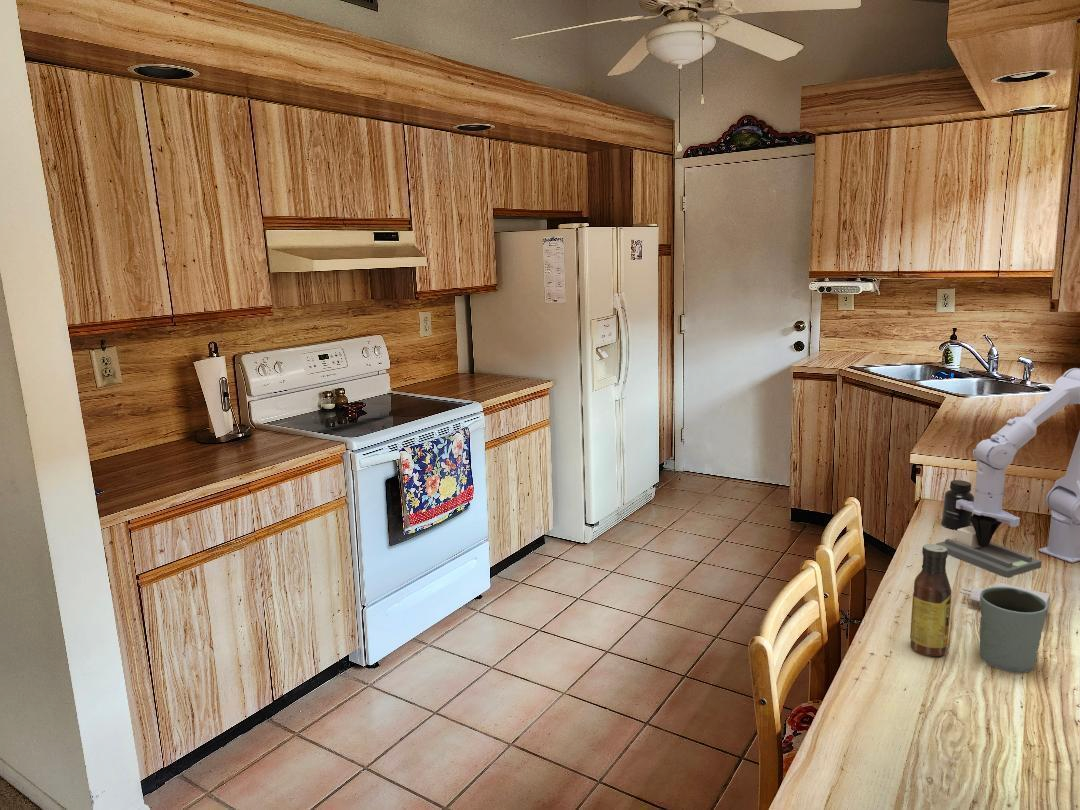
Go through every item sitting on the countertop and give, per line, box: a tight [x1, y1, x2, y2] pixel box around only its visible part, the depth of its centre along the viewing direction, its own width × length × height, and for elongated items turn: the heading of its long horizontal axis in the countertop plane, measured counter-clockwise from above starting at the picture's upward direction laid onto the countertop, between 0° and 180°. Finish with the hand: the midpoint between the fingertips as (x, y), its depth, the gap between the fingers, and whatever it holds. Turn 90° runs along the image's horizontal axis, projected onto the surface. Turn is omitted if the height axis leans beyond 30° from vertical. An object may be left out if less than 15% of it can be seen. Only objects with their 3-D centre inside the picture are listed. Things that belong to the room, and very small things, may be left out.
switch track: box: [935, 538, 1043, 578], centre depth 178 cm, size 12×18×2 cm, turn 24°
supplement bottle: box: [941, 479, 974, 531], centre depth 197 cm, size 7×7×12 cm
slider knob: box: [956, 525, 980, 548], centre depth 182 cm, size 4×4×4 cm
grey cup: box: [978, 586, 1048, 674], centre depth 134 cm, size 10×10×12 cm
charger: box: [959, 582, 1052, 623], centre depth 153 cm, size 5×9×15 cm
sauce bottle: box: [909, 543, 952, 657], centre depth 138 cm, size 7×6×20 cm
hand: (983, 545), depth 179 cm, fingers closed
